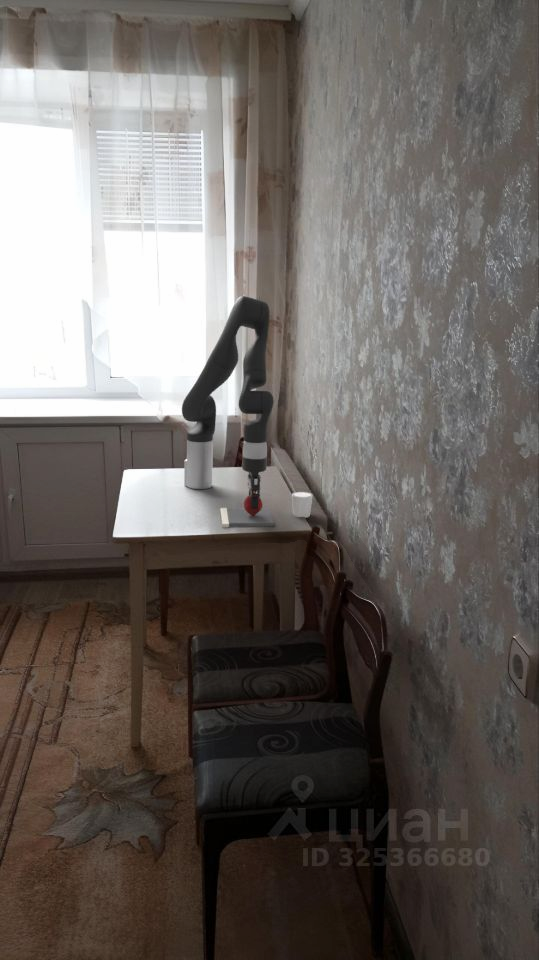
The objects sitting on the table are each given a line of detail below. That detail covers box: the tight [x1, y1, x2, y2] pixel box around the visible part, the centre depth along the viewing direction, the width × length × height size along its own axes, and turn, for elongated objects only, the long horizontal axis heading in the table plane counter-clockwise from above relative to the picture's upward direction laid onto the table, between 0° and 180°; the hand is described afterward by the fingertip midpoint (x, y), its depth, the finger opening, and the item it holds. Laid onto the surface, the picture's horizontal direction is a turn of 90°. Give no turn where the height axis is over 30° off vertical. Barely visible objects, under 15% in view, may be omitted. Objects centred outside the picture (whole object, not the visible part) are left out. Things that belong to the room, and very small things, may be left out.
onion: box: [243, 491, 263, 516], centre depth 236 cm, size 6×6×8 cm
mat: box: [219, 507, 275, 528], centre depth 237 cm, size 16×16×1 cm
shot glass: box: [291, 491, 314, 519], centre depth 242 cm, size 7×7×7 cm
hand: (253, 505), depth 236 cm, fingers open, 8 cm apart
